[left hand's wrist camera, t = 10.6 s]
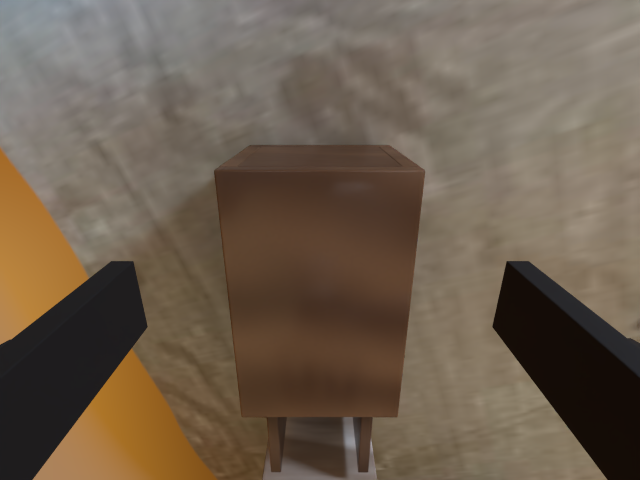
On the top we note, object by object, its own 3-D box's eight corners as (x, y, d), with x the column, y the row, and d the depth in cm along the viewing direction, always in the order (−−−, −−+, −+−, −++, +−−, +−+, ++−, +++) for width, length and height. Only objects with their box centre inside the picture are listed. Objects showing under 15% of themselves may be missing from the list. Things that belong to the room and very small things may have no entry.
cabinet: (376, 329, 33) (397, 417, 24) (263, 329, 33) (241, 417, 24) (389, 145, 26) (425, 169, 17) (249, 145, 26) (213, 169, 17)
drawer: (363, 456, 37) (373, 541, 30) (276, 456, 37) (265, 541, 30) (374, 282, 30) (392, 341, 22) (264, 282, 30) (246, 341, 22)
